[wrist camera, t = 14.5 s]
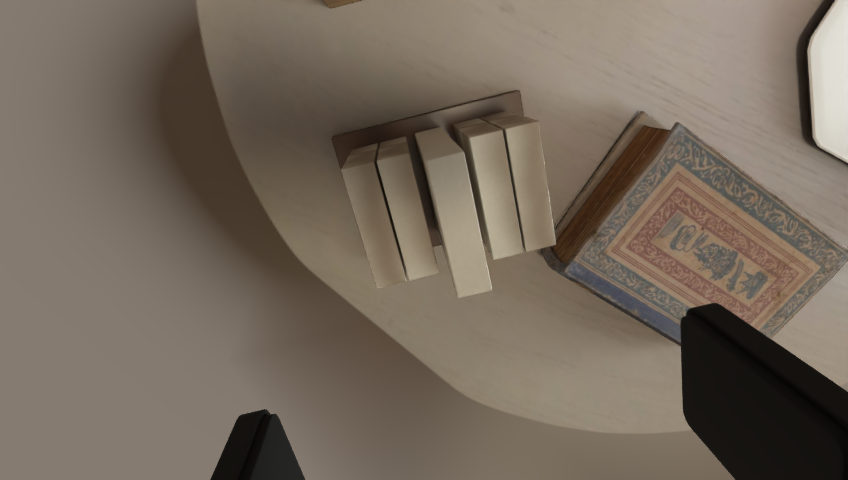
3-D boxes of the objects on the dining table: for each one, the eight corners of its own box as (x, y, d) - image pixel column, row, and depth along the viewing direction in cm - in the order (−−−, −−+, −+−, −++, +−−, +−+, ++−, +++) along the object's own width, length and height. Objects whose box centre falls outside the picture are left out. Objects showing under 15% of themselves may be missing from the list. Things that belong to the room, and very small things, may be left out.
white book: (437, 231, 46) (457, 298, 32) (414, 133, 43) (425, 160, 29) (461, 225, 46) (492, 290, 32) (440, 126, 43) (464, 151, 29)
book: (678, 116, 38) (864, 258, 44) (638, 110, 44) (805, 235, 50) (554, 276, 42) (738, 386, 48) (534, 250, 49) (698, 349, 55)
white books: (369, 259, 48) (363, 309, 37) (332, 136, 43) (313, 154, 33) (537, 217, 47) (577, 257, 37) (517, 90, 43) (556, 94, 33)
